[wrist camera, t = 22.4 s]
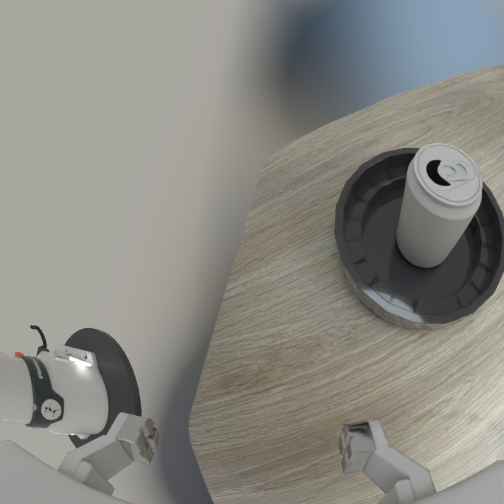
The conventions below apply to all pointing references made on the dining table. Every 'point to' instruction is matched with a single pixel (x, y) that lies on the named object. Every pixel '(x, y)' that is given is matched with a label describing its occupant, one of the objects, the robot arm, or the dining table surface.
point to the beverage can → (437, 203)
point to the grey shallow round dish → (397, 266)
